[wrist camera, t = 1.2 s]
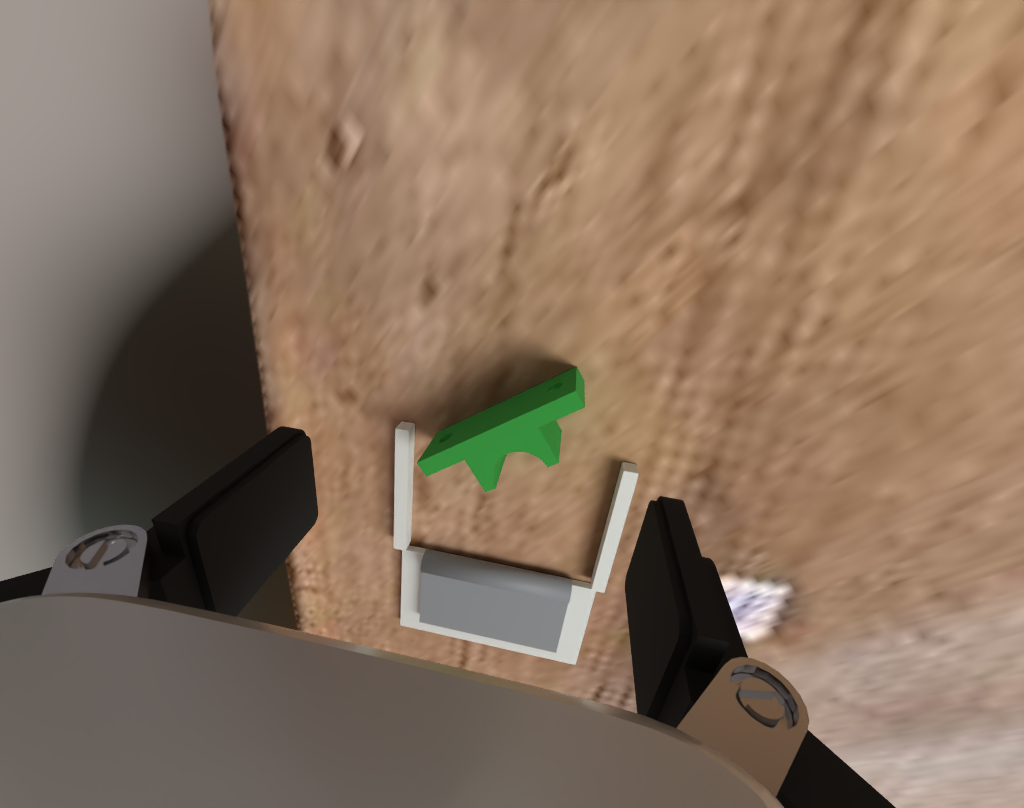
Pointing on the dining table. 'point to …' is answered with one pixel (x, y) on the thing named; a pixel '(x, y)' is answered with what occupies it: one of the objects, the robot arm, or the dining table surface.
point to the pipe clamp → (508, 430)
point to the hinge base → (498, 581)
